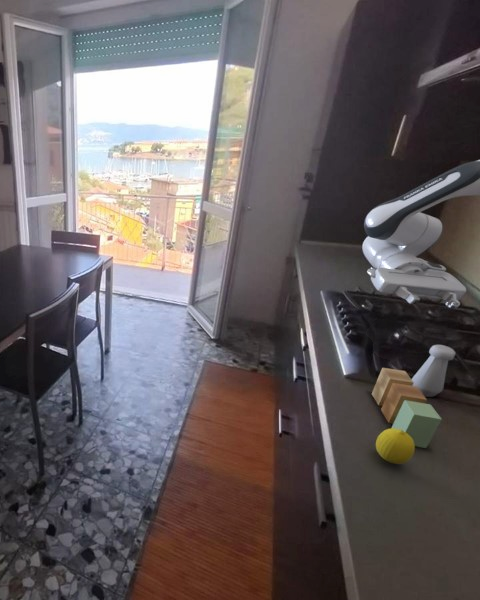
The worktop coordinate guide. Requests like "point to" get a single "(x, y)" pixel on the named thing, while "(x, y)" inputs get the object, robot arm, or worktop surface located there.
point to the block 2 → (400, 399)
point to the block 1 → (389, 383)
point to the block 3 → (417, 422)
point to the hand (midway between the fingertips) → (435, 303)
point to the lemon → (395, 446)
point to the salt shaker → (433, 371)
